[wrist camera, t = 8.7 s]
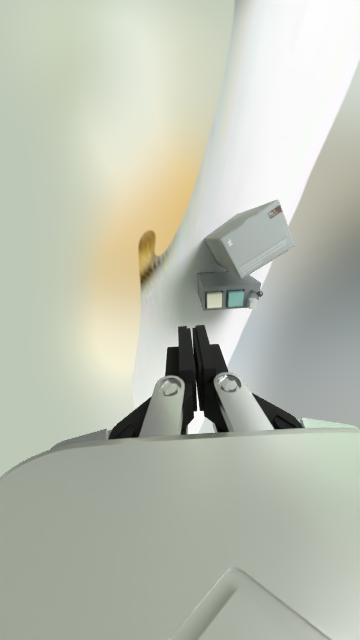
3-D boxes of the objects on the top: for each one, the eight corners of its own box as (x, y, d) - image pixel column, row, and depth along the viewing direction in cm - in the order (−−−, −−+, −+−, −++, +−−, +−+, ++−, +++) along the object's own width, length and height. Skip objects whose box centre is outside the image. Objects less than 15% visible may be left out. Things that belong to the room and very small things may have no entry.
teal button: (224, 287, 35) (229, 293, 32) (238, 286, 35) (244, 292, 32) (224, 300, 36) (228, 306, 33) (237, 299, 36) (242, 305, 33)
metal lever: (250, 288, 32) (258, 291, 29) (255, 288, 32) (264, 291, 29) (249, 293, 33) (258, 297, 29) (254, 293, 33) (263, 297, 29)
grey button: (247, 298, 33) (250, 301, 32) (255, 297, 33) (258, 300, 32) (246, 305, 34) (249, 308, 32) (254, 305, 34) (257, 308, 32)
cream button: (204, 288, 35) (207, 294, 32) (218, 287, 35) (222, 293, 32) (204, 301, 36) (207, 308, 33) (218, 300, 36) (221, 307, 33)
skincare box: (217, 264, 40) (240, 286, 26) (201, 234, 37) (216, 241, 23) (253, 241, 38) (299, 251, 24) (239, 207, 35) (280, 196, 21)
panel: (197, 273, 41) (203, 287, 32) (242, 270, 41) (260, 283, 32) (198, 292, 43) (203, 310, 34) (240, 289, 43) (257, 306, 34)
